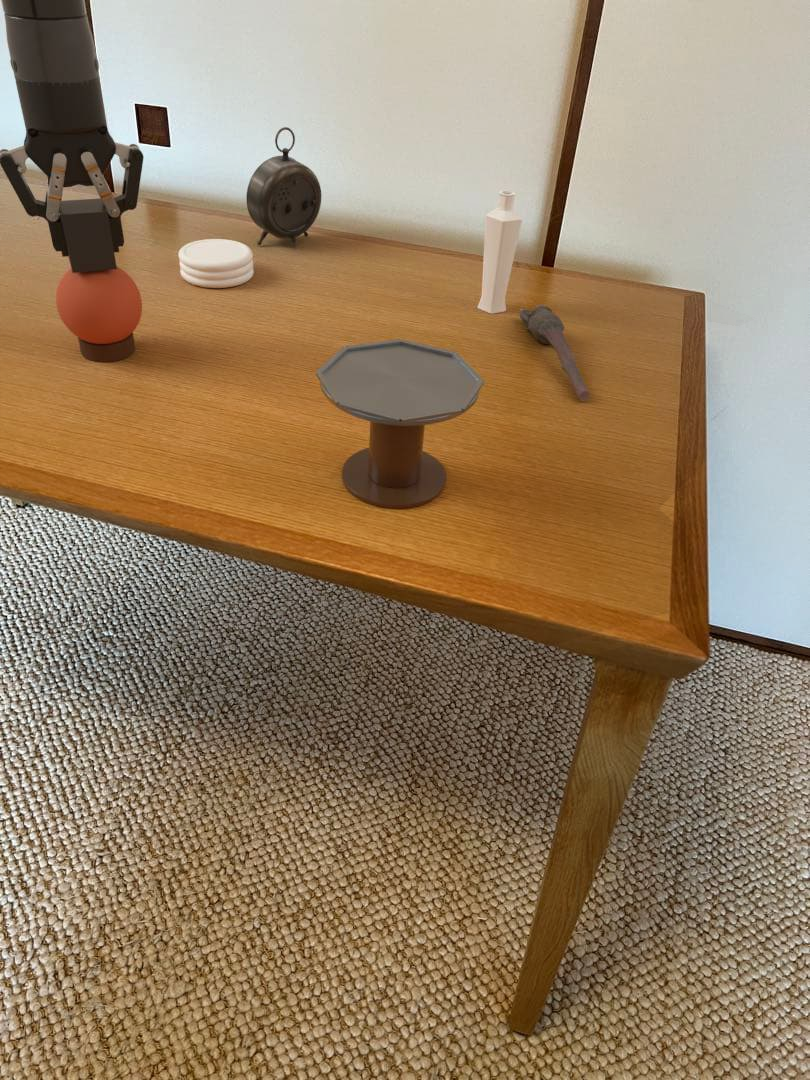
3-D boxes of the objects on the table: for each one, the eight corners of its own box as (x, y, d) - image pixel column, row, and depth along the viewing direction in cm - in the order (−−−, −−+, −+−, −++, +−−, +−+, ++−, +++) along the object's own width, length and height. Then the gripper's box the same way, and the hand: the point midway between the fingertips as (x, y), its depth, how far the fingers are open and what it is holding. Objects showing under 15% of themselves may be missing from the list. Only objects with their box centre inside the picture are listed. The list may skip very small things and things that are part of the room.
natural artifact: (529, 326, 109) (549, 302, 108) (584, 405, 92) (610, 378, 90) (508, 310, 107) (529, 285, 106) (562, 388, 90) (587, 360, 88)
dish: (349, 535, 71) (352, 429, 64) (302, 451, 80) (299, 350, 74) (492, 505, 75) (508, 403, 68) (430, 429, 85) (439, 332, 78)
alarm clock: (307, 231, 129) (305, 119, 119) (327, 242, 126) (327, 128, 116) (247, 244, 123) (240, 127, 113) (266, 255, 120) (260, 136, 110)
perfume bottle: (502, 317, 108) (519, 200, 99) (471, 310, 109) (485, 194, 100) (513, 305, 111) (531, 191, 102) (483, 298, 113) (498, 185, 103)
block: (72, 273, 85) (60, 214, 82) (68, 257, 89) (56, 200, 85) (117, 269, 87) (107, 211, 83) (111, 254, 90) (101, 198, 86)
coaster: (268, 279, 113) (266, 254, 111) (205, 295, 108) (203, 269, 106) (228, 257, 119) (226, 232, 116) (167, 271, 113) (164, 246, 111)
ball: (71, 373, 90) (51, 283, 83) (63, 338, 96) (44, 252, 89) (154, 362, 93) (141, 275, 86) (142, 329, 99) (129, 245, 92)
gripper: (129, 62, 81) (152, 235, 92) (-28, 63, 76) (16, 245, 87) (141, 78, 76) (164, 259, 87) (-27, 79, 71) (20, 271, 82)
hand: (90, 251), depth 87 cm, fingers closed on block, 4 cm apart
